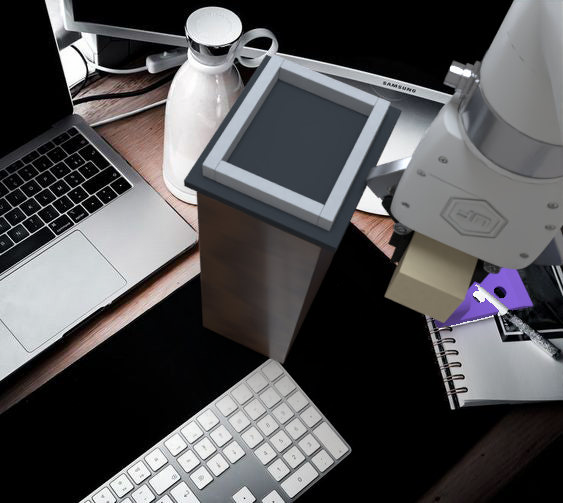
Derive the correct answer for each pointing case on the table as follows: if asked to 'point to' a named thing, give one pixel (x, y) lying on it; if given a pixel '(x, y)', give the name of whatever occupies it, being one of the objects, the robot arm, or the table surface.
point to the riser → (255, 278)
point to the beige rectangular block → (431, 277)
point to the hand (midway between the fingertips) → (432, 261)
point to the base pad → (296, 151)
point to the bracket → (505, 282)
